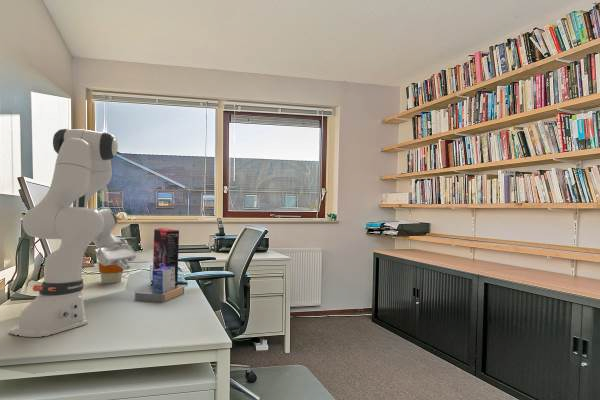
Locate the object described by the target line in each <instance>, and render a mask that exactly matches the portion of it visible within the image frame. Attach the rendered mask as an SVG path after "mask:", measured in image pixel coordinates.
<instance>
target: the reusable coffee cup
mask: <svg viewBox="0 0 600 400" xmlns="http://www.w3.org/2000/svg"><path fill="white" fill-rule="evenodd" d="M98 271H99V274H100V281H101V283H102V284H117V283H120V282H122V277H123V272H124V271H125V270H123V269H122V268H121V267H119V266H118V265H117V264H112V265H107V266H104V265H102V264H101V263H100V262H99V261H98Z"/></svg>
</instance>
